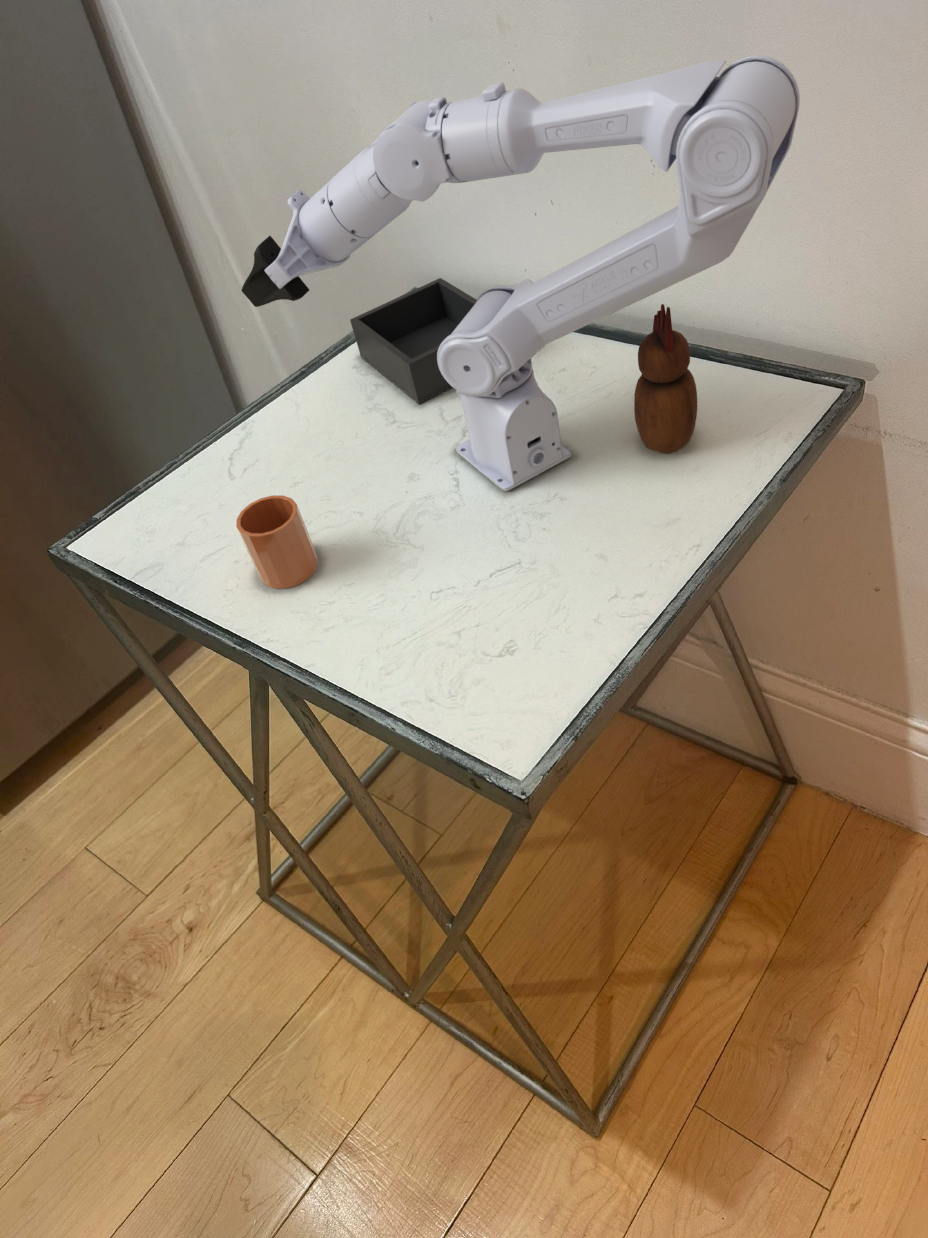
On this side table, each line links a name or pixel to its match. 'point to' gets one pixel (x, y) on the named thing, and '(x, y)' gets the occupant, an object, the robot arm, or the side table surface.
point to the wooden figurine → (665, 388)
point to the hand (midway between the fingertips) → (271, 277)
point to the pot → (277, 541)
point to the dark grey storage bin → (412, 336)
